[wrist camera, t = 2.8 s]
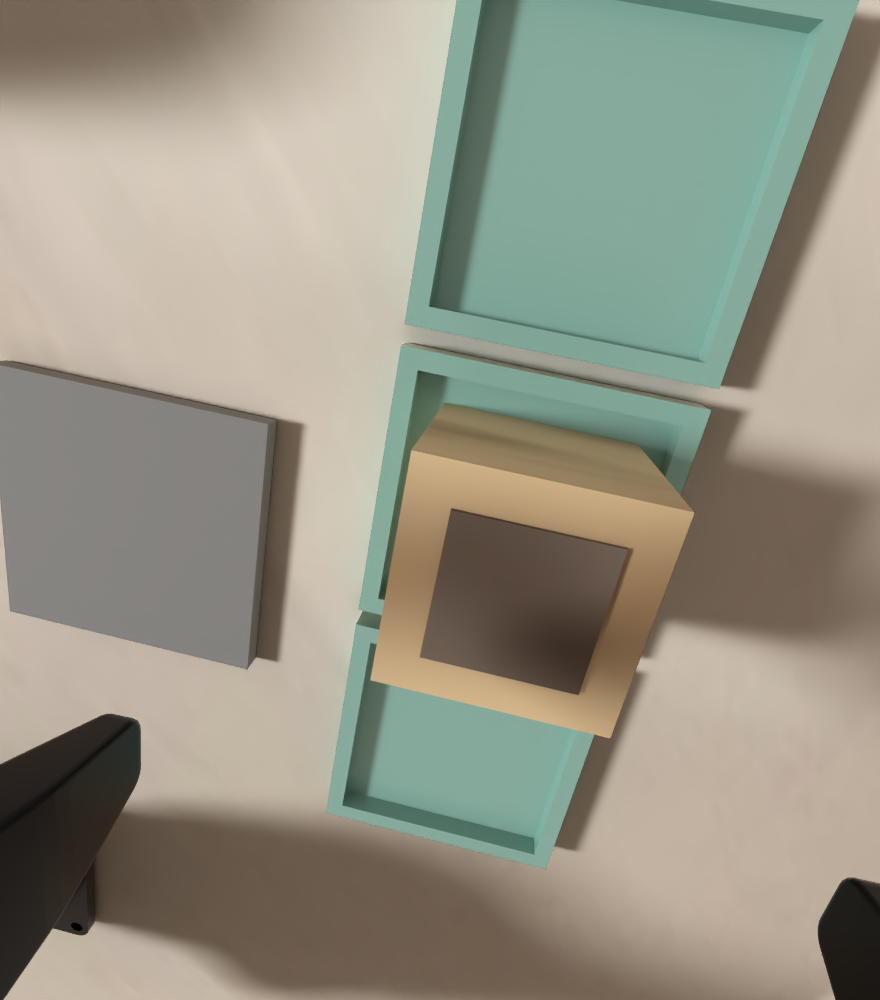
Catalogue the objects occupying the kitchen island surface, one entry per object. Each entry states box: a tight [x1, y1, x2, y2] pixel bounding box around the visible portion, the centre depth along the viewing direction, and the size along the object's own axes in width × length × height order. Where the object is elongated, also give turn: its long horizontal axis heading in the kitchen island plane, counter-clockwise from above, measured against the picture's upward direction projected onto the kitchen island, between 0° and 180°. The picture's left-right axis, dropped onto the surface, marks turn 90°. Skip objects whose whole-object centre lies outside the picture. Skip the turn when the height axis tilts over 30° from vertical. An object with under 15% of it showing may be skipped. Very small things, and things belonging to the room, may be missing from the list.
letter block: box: [370, 403, 695, 738], centre depth 13 cm, size 5×5×5 cm
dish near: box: [405, 0, 859, 389], centre depth 13 cm, size 8×8×1 cm
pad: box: [0, 360, 277, 669], centre depth 17 cm, size 8×8×1 cm
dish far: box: [326, 611, 594, 869], centre depth 18 cm, size 8×8×1 cm
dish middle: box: [359, 343, 711, 615], centre depth 15 cm, size 8×8×1 cm
